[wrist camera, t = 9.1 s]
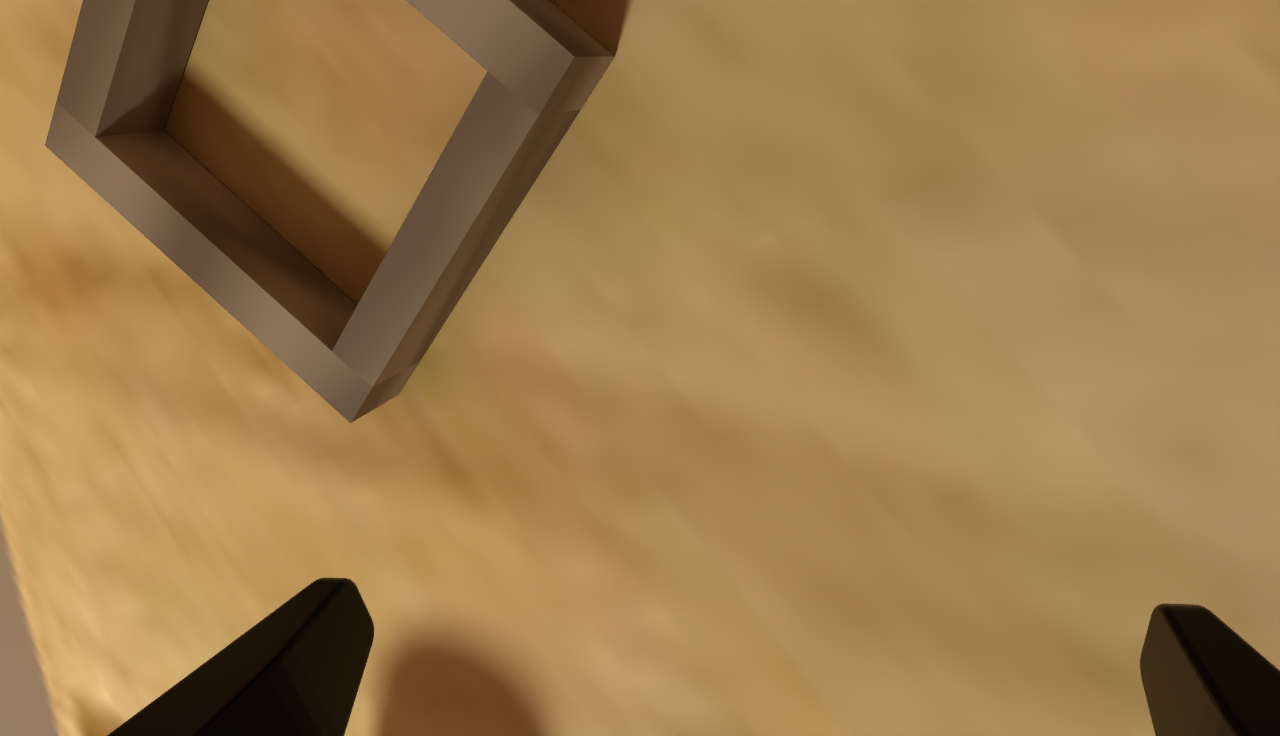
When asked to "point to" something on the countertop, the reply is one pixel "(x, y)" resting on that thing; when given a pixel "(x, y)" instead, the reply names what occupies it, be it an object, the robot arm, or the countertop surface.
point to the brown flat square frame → (256, 254)
